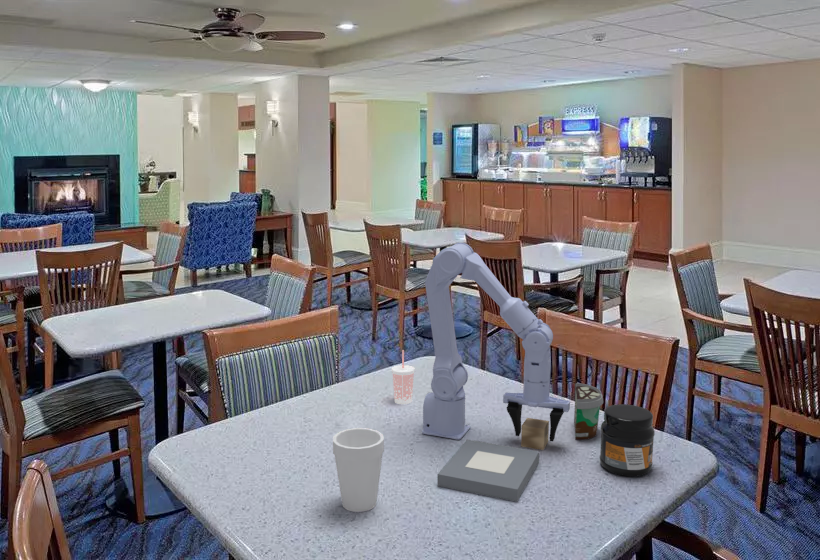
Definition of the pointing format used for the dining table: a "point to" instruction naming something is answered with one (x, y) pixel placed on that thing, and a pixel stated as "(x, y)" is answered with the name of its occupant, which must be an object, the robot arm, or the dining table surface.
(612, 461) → the supplement container
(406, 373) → the beverage cup
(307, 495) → the dining table surface
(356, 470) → the foam cup
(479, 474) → the plinth
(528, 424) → the oak cube
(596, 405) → the food container
